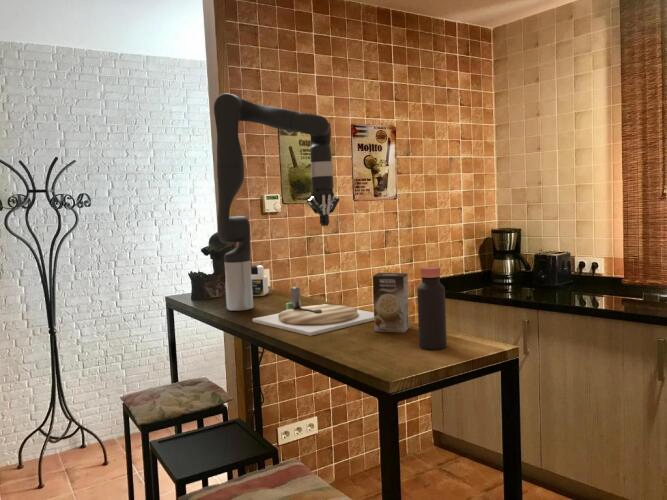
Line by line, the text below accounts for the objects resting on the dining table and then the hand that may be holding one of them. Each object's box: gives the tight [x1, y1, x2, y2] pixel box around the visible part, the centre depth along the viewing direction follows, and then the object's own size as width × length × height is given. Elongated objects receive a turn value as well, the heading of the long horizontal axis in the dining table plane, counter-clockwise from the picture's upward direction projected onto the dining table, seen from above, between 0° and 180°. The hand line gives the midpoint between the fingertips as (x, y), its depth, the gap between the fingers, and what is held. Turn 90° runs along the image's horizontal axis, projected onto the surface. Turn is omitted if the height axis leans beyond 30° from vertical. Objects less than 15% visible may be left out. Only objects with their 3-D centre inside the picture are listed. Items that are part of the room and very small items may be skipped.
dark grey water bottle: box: [416, 266, 448, 351], centre depth 146 cm, size 7×7×20 cm
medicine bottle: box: [251, 264, 269, 297], centre depth 240 cm, size 7×7×12 cm
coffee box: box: [372, 272, 410, 333], centre depth 167 cm, size 9×6×16 cm
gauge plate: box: [252, 301, 374, 337], centre depth 186 cm, size 30×30×4 cm
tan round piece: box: [278, 286, 358, 324], centre depth 185 cm, size 25×25×8 cm
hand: (324, 225), depth 203 cm, fingers closed
